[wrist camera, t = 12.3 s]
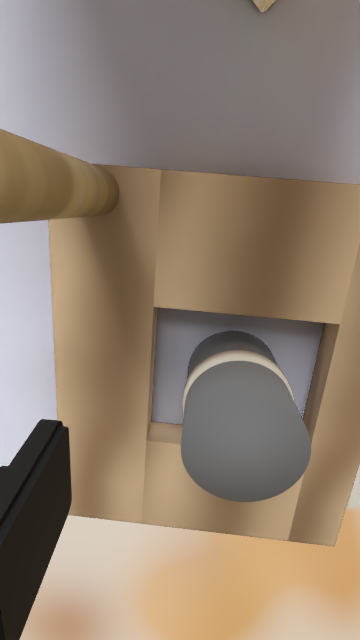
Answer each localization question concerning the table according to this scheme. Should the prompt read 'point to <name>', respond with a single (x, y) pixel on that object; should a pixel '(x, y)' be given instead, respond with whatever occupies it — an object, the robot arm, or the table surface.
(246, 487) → the grey banded cylinder
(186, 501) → the square wooden frame
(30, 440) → the robot arm
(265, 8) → the coffeecake box
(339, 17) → the table surface
